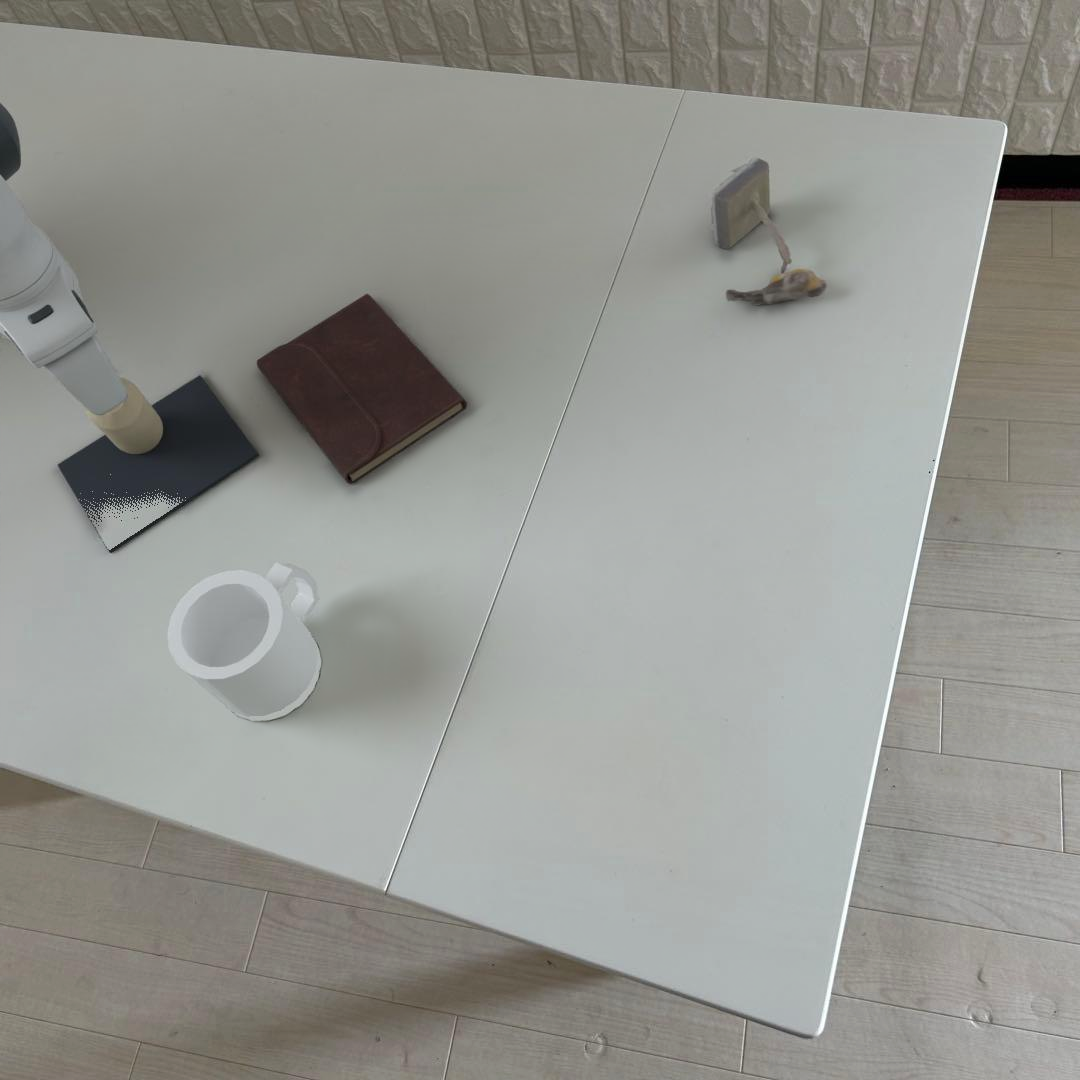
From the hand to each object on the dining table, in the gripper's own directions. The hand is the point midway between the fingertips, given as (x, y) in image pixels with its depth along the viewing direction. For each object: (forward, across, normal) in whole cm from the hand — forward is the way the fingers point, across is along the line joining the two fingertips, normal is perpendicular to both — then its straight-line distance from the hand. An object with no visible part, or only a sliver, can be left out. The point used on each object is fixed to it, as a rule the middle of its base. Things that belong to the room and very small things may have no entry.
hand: (100, 380), depth 108 cm
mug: (+9, +35, -2) cm, 36 cm away
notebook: (+9, +13, +22) cm, 27 cm away
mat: (+8, +6, 0) cm, 10 cm away
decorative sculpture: (+9, +29, +64) cm, 70 cm away
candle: (+7, +2, 0) cm, 7 cm away
